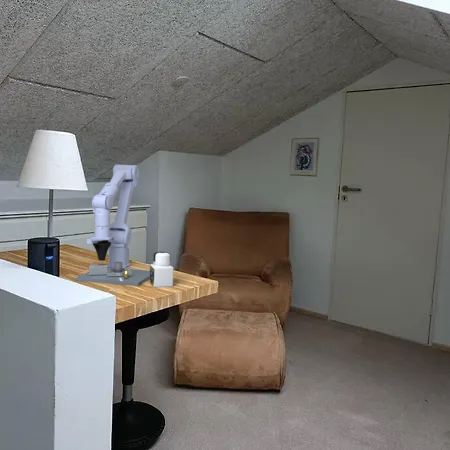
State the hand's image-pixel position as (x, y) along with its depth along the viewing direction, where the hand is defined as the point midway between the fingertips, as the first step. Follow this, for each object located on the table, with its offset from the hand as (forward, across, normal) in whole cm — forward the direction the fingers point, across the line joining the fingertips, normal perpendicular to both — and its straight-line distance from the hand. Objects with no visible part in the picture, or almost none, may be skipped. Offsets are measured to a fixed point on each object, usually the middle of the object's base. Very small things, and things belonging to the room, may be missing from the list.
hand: (101, 260), depth 175 cm
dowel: (+4, -4, -15) cm, 16 cm away
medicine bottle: (+6, 0, -28) cm, 28 cm away
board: (+6, 0, -8) cm, 10 cm away
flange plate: (+4, -2, -6) cm, 7 cm away
